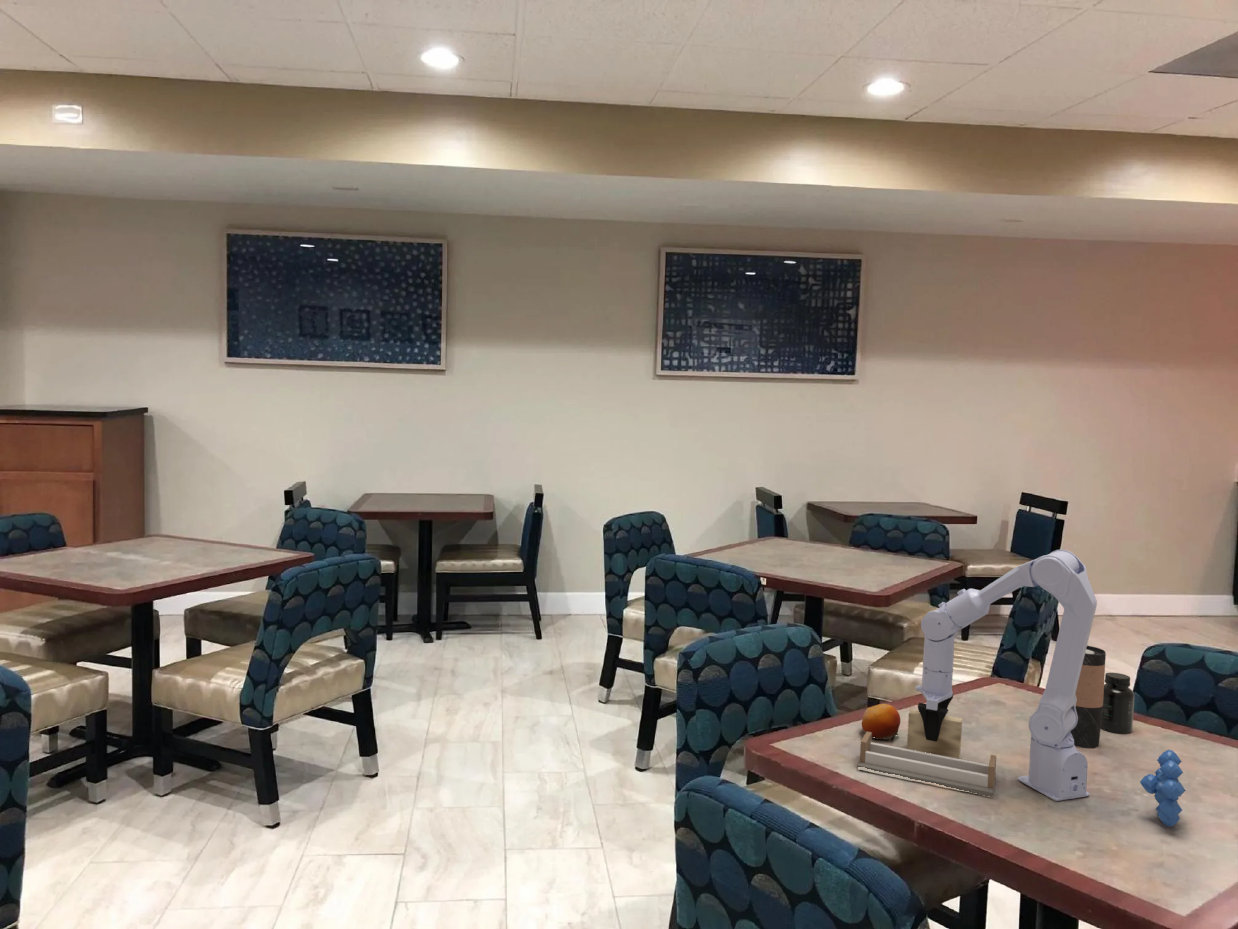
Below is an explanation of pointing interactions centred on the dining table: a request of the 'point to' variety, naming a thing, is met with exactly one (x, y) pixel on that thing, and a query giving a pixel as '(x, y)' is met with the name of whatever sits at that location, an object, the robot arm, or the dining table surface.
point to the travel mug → (1090, 699)
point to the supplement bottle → (1117, 704)
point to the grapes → (1166, 787)
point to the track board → (929, 767)
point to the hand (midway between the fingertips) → (934, 733)
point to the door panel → (946, 741)
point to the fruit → (881, 721)
